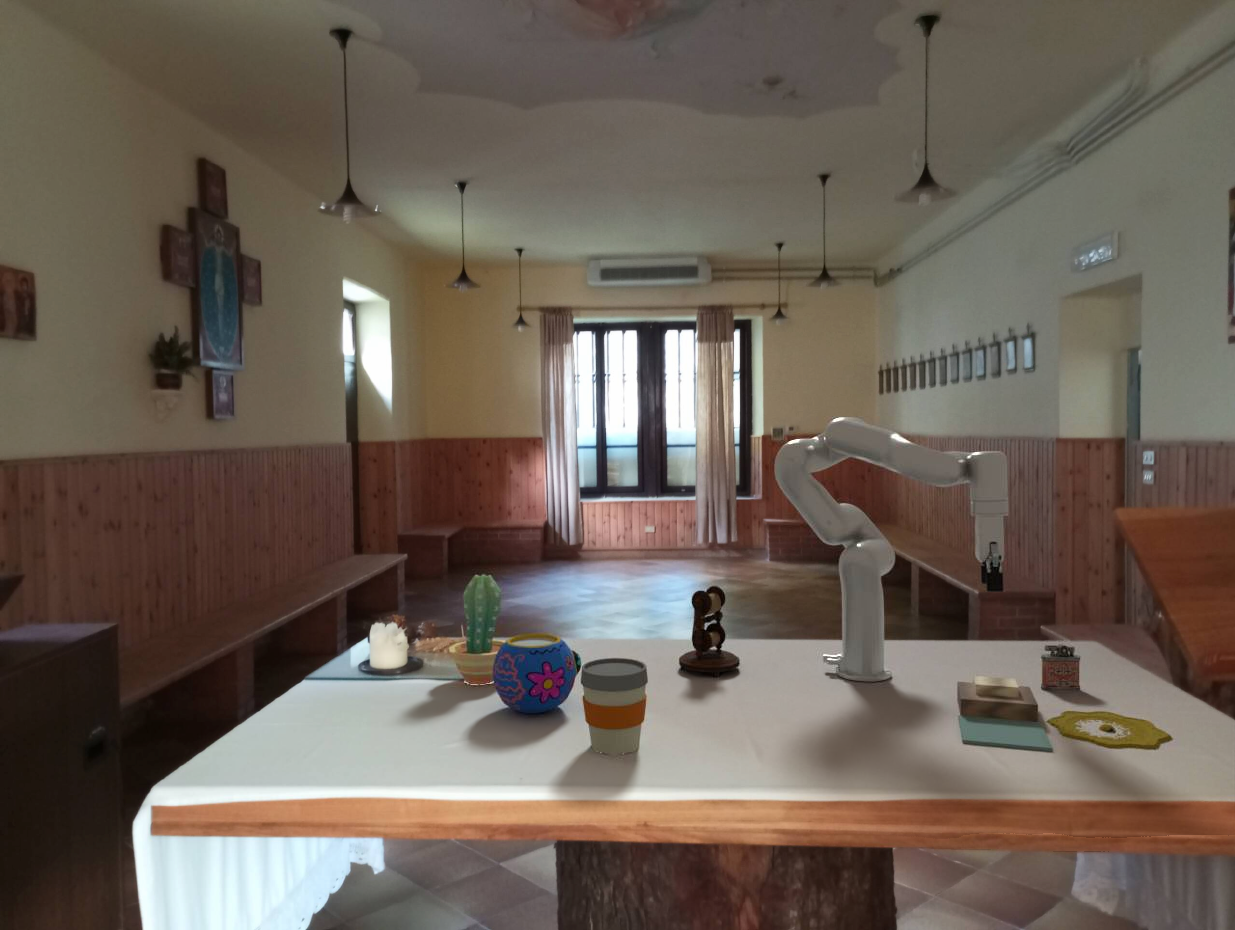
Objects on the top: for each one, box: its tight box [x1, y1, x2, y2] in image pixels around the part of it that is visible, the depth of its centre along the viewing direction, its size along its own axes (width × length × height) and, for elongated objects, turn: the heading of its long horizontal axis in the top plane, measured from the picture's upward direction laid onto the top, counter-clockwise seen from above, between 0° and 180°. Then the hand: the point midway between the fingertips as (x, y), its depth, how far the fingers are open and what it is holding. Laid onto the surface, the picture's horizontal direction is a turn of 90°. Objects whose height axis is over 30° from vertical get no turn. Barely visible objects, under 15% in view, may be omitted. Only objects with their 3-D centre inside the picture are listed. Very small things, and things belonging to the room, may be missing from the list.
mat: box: [957, 714, 1053, 752], centre depth 163 cm, size 15×14×1 cm
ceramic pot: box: [493, 633, 582, 714], centre depth 181 cm, size 18×18×15 cm
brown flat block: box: [956, 681, 1039, 722], centre depth 175 cm, size 14×12×4 cm
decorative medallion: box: [1046, 710, 1173, 750], centre depth 164 cm, size 20×20×1 cm
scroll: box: [678, 585, 741, 678], centre depth 209 cm, size 15×15×20 cm
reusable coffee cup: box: [580, 657, 649, 755], centre depth 160 cm, size 12×13×15 cm
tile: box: [972, 675, 1019, 697], centre depth 176 cm, size 8×6×2 cm
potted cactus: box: [448, 573, 507, 685], centre depth 203 cm, size 15×15×25 cm
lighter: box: [1040, 643, 1081, 693], centre depth 189 cm, size 8×3×10 cm, turn 84°
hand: (992, 587), depth 185 cm, fingers open, 9 cm apart
